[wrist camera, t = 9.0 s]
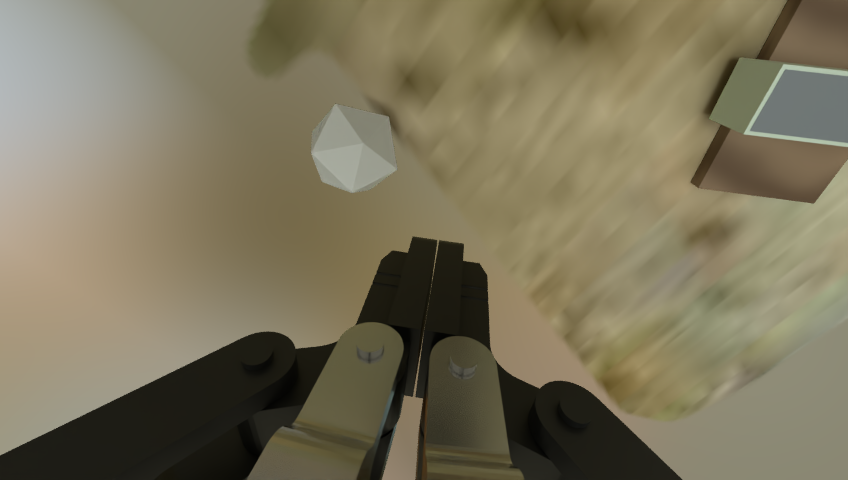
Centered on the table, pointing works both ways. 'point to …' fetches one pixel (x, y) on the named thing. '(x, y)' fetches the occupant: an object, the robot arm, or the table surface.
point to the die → (353, 148)
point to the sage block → (786, 102)
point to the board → (779, 158)
